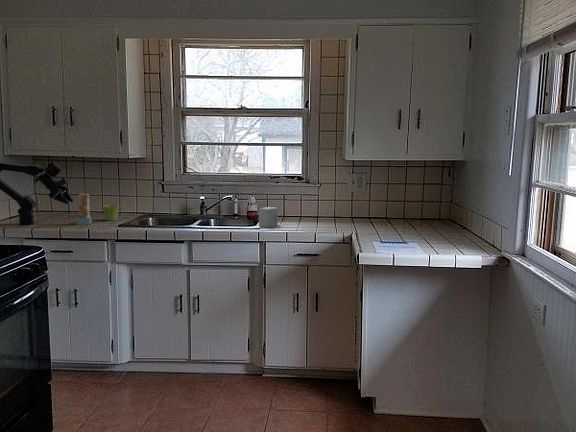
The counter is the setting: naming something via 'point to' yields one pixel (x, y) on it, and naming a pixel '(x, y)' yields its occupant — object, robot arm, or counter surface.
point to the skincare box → (268, 216)
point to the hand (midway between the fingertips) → (70, 202)
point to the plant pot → (111, 212)
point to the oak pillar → (84, 206)
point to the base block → (83, 221)
